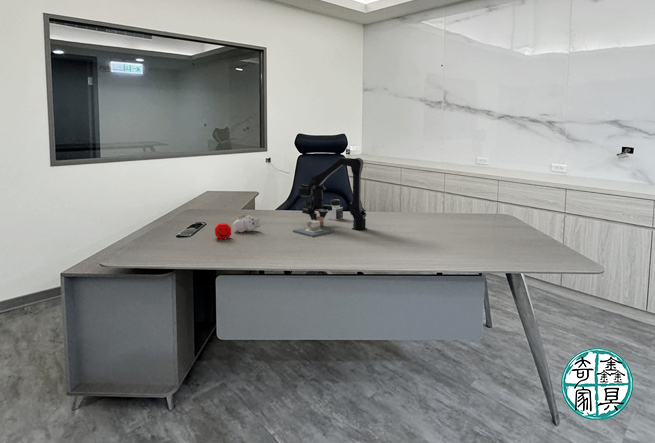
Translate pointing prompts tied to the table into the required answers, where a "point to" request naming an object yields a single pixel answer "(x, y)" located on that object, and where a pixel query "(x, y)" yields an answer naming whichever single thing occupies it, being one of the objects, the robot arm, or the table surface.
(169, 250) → the table surface
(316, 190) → the robot arm
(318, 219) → the terracotta block
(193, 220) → the table surface
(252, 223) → the cat figurine
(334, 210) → the medicine bottle
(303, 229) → the blue-grey square plate
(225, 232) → the ball
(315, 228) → the off-white block
